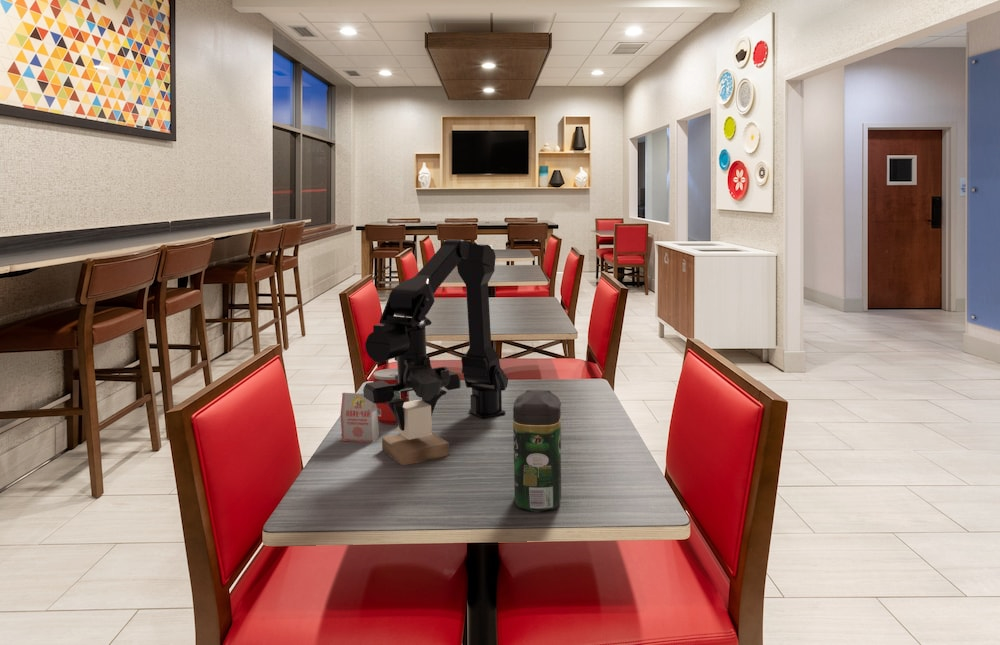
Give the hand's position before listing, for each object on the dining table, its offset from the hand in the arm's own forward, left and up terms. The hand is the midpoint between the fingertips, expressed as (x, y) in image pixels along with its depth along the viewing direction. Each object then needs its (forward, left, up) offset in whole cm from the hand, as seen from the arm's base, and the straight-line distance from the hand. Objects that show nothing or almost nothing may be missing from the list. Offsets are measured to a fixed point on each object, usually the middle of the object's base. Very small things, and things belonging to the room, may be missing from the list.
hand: (414, 427), depth 140 cm
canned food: (-5, -22, -5) cm, 23 cm away
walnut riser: (0, 0, -6) cm, 6 cm away
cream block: (0, 0, -1) cm, 1 cm away
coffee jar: (-7, +32, -5) cm, 33 cm away
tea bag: (+6, -14, -5) cm, 16 cm away
